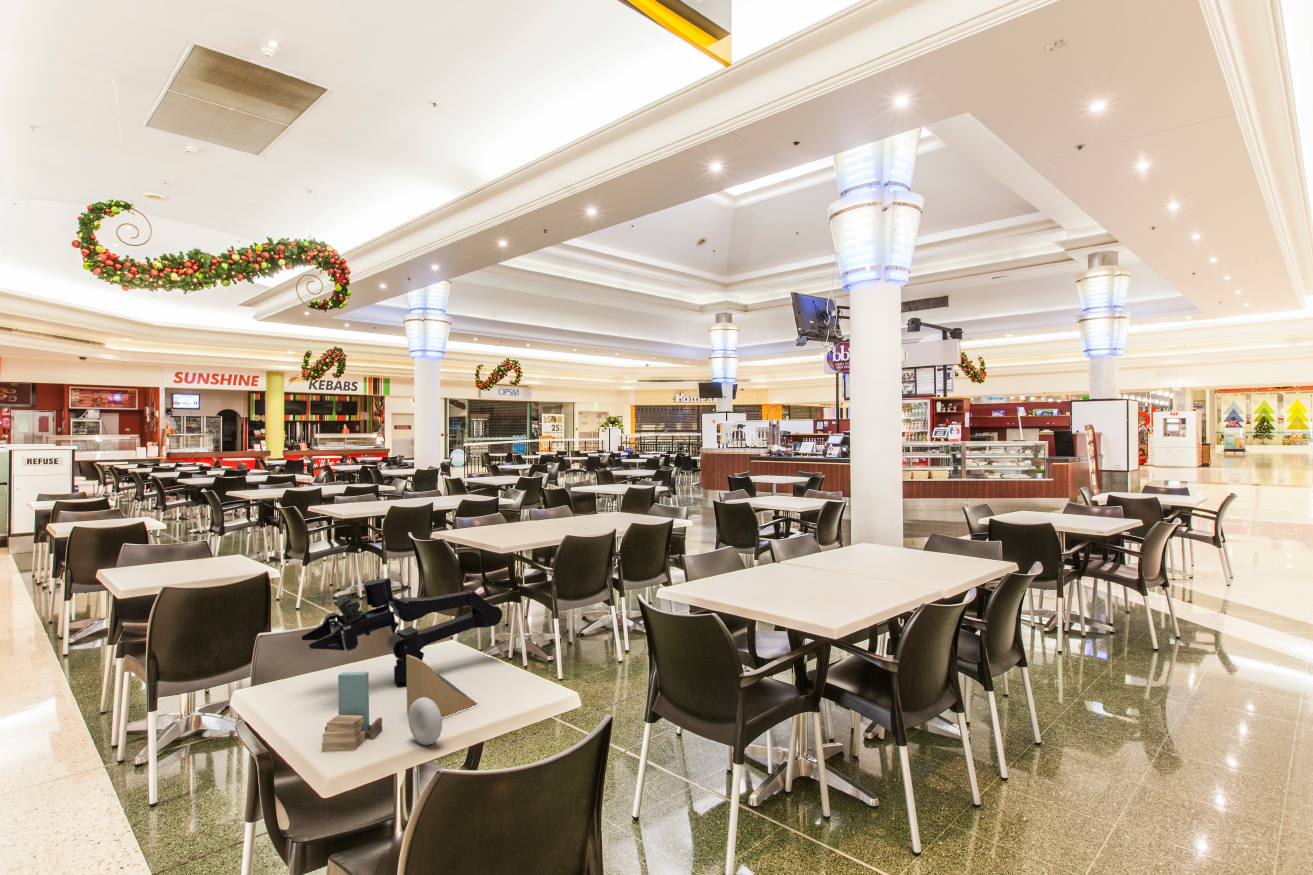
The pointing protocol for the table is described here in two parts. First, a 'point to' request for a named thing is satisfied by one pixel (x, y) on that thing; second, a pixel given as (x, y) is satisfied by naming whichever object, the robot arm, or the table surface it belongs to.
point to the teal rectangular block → (354, 695)
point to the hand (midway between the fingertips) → (305, 642)
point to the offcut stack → (343, 733)
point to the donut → (425, 721)
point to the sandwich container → (433, 688)
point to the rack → (372, 729)
